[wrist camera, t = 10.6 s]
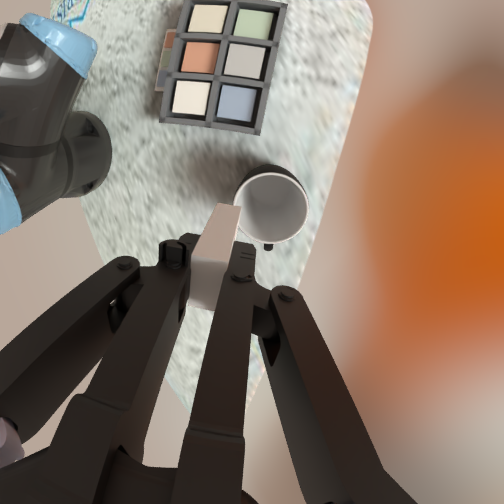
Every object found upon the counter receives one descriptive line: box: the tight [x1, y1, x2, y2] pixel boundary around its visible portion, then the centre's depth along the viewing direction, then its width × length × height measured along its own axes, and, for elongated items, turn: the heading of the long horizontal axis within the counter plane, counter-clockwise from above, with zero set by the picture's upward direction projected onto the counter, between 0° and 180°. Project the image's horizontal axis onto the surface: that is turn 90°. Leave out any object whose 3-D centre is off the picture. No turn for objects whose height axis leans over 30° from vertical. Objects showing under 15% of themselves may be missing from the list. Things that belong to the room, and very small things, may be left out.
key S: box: [188, 5, 229, 35], centre depth 26 cm, size 4×4×2 cm
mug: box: [233, 165, 309, 251], centre depth 37 cm, size 12×9×10 cm
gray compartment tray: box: [154, 0, 288, 136], centre depth 30 cm, size 17×20×4 cm
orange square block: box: [181, 42, 220, 75], centre depth 29 cm, size 4×4×2 cm
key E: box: [233, 9, 274, 40], centre depth 27 cm, size 4×4×2 cm
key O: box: [172, 81, 212, 115], centre depth 32 cm, size 4×4×2 cm
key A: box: [217, 85, 257, 122], centre depth 33 cm, size 4×4×2 cm
